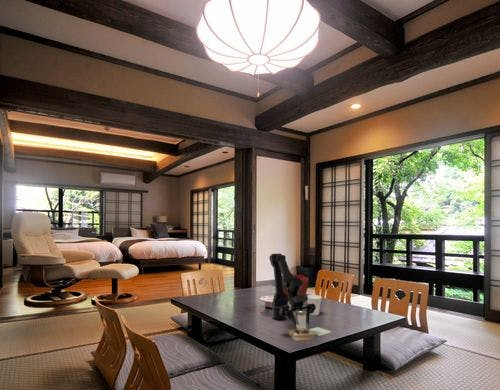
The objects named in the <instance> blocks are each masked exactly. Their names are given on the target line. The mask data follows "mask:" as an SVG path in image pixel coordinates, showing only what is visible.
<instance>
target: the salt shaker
mask: <svg viewBox="0 0 500 390" xmlns="http://www.w3.org/2000/svg"><path fill="white" fill-rule="evenodd" d="M294 312H295V320H296V324H297V325H296V328H295V329H296V333H297V334H306V328H307V322H306V313H307V310H305V309H296V310H295V311H294Z"/></svg>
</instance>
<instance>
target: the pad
mask: <svg viewBox="0 0 500 390" xmlns="http://www.w3.org/2000/svg"><path fill="white" fill-rule="evenodd" d="M308 329H309V330H310V331H311V332H312V333H314V334H315V336H318V337H321V336H324V335H327V334H331V333H332V331H331V330H328V329H325V328H323V327H319V326H317V327H313V328H308Z"/></svg>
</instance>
